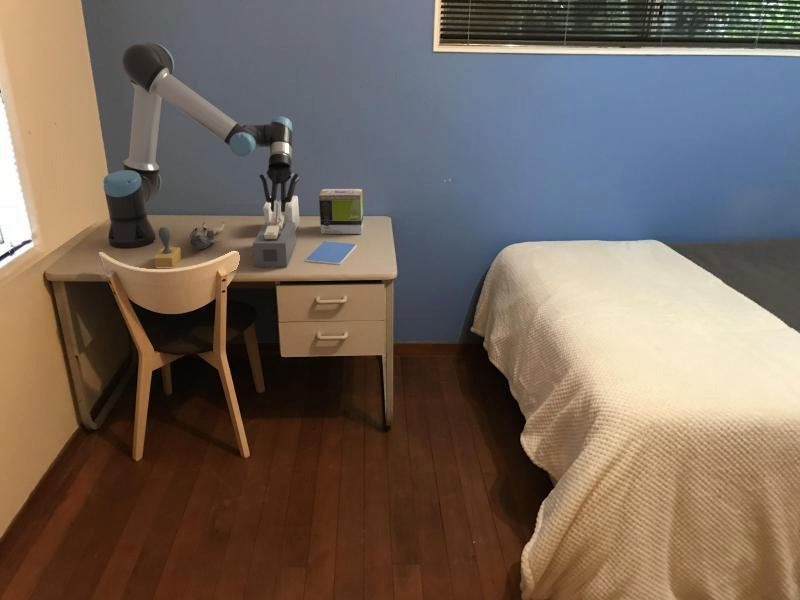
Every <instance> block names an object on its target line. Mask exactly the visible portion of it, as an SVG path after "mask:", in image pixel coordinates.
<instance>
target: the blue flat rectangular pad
mask: <svg viewBox="0 0 800 600" xmlns="http://www.w3.org/2000/svg"><path fill="white" fill-rule="evenodd" d="M357 247H358V245H357V243H349V242H338V241H326V240H325V241H323V242H321V243H320V244H319V245H318V246H317V247H316V248H315V249H314V250H313V251H312V252H311V253H310V254H309V255H308V256H307V257H306V258H305V259H304V260H303V261H304V263H312V264H325V265H332V266H333V265H334V266H341V265H343V264H344V262H345V261H346V260H347V258H348V257H349V256H350V255H351V254H352V253H353V252H354V250H355V249H356V248H357Z"/></svg>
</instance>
